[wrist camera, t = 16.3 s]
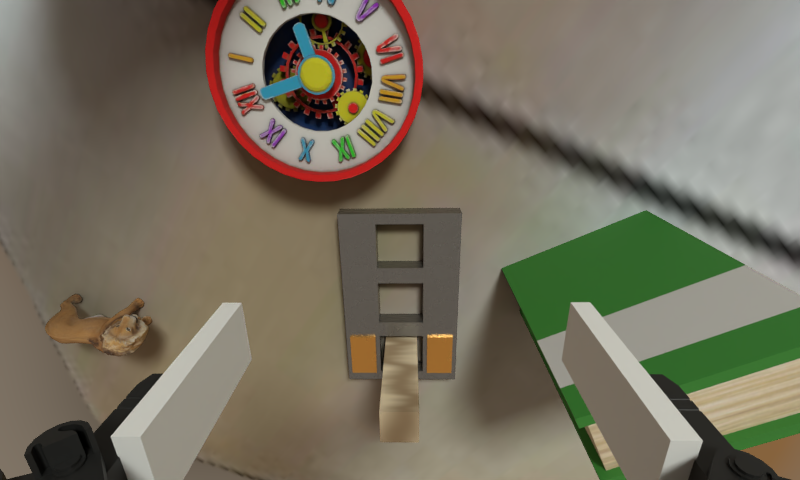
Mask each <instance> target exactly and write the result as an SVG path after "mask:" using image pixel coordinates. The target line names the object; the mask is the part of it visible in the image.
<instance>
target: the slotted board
mask: <svg viewBox="0 0 800 480" xmlns="http://www.w3.org/2000/svg"><path fill="white" fill-rule="evenodd" d="M337 217H338V230H339V244H340V257H341V271H342V284H343V298H344V311H345V325H346V338H347V351H348V365H349V378H350V379H382V376H383V365H384V362H382V348H381V336H422V362H418V379H455V364H456V340H457V316H458V293H459V269H460V246H461V222H462V212H461V210H460V208H407V209H340V210H339V212H338V214H337ZM377 224H423V261H378V241H377ZM379 283H423V314H380V295H379Z"/></svg>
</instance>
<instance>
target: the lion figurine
mask: <svg viewBox="0 0 800 480" xmlns="http://www.w3.org/2000/svg"><path fill="white" fill-rule="evenodd" d="M81 300H82V298H81V296H80V295H78V294H75V295H72V296H71V297H69V298H68V299H67V300H66V301H64V302H63V303H62V304H61V305H60V307H61V311H60V312H59V313H57V314H56V315H55V316H53V317H52V318H51V319H50V320H49V321H48V323H47V324H46V326H45V331H46V333H47V334H48V335H49V336H50V337H51V338H52V339H54V340H56V341H58V342H60V343H86V344H93V346H94V347H95V348H96V349H98V350H99V351H102V352H103V353H107V355H115V356H122V355H126V354H130V353H133V352H134V351H135V350H136V349H138V348H139V347H140V345H142V343H143V341H144V340H145V338H146V336H147V334H148V330H149V328H148V326H147V325H149V324H150V323H151V322H152V319H151V317H149V316H144V317H142V318H140V317H138V316H137V315H136V314H132V313H133V312H134V311H136V310H138V309H139V308H141V307H143V306H144V302H143V300H141V299H140V298H137V299H136V300H135V301H133V302H132V303H131V304H130V305H129V306H128V307H127V308H125V309H124V310H122V311H120V312H119V313H118V314H116V315H115V316H113V317H112V318H107V317H105V316H103V315H95V316H92V317H87V318H83V319H79V318H78V314H77V310H76V308H75V307H74V306H73V304H72V303H79V302H81ZM131 314H132V315H131Z"/></svg>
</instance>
